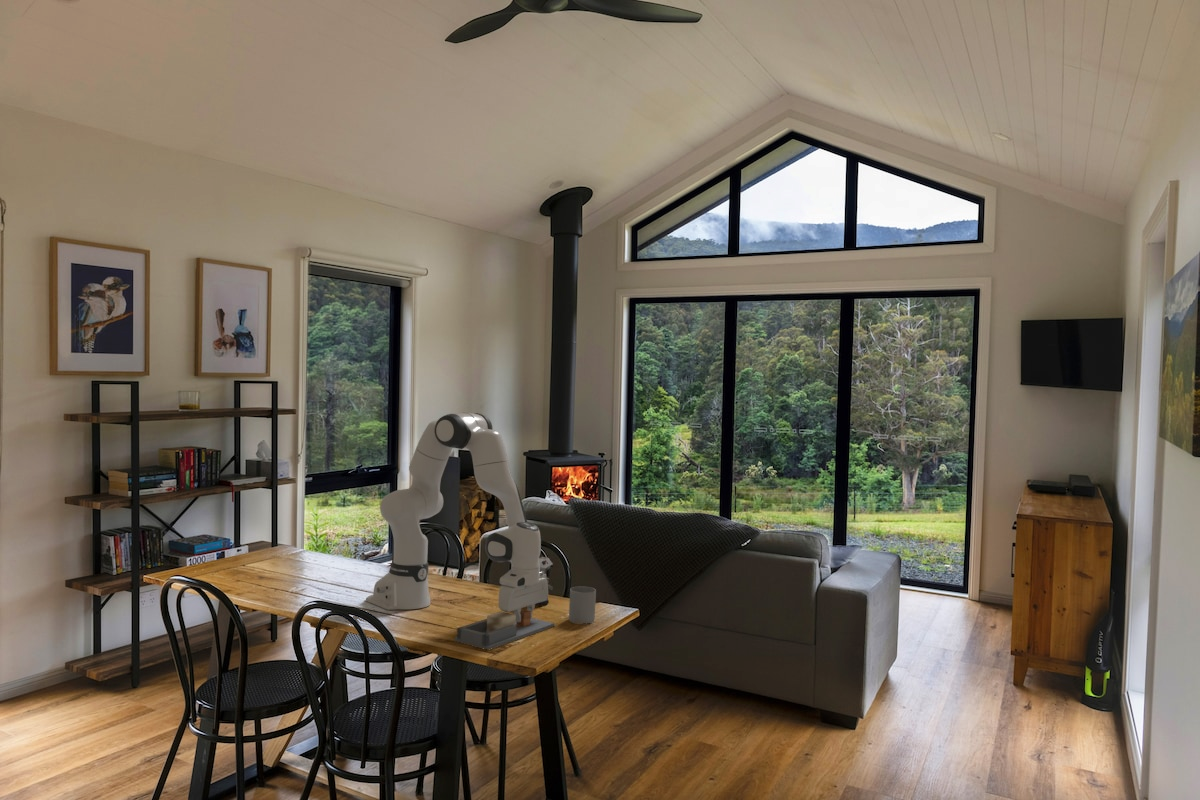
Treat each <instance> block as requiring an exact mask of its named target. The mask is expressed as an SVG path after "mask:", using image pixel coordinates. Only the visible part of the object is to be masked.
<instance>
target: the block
mask: <svg viewBox="0 0 1200 800" xmlns="http://www.w3.org/2000/svg"><path fill="white" fill-rule="evenodd" d="M520 614H521V616H523V621H522V622H517V624H515V620H516V615H514V613H513V614H512V613H510V612H505V611H501V610H500V611H498V612H495V613H490V614H488V615H486V619H487V632H488V633H489V632H492V631H494V630H497V629H500V628H503V627H506V626H509V625H512V624H513V625H517V627H519V626H527V625H529V624H530V616H531V611H527V609H521V611H520Z"/></svg>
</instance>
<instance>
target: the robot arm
mask: <svg viewBox="0 0 1200 800" xmlns="http://www.w3.org/2000/svg"><path fill="white" fill-rule="evenodd" d="M415 447H416V448H415V450H414V453H413V456H412V459H411V461H410V463H409V466H408V470H409V474H411V476H412V479H411V485H410V486H409V488H404V489H398V490H394V491H392V492H389V493H388V494H386V495H385V496H384V497H382V499H381V501H380V504H379V505H380V506H379V510H380V514H381V517H382V519H384V521H386V522H387V523H388V524H389V527H390V529H391V532H392V536H393V561H392V562H389V563H387V568H388V567H389V570H388V573H386V574H385V575H383V576H382V577H381V578H380V579H378V580H377V581H376V582H375V584H374V587H373V593H372V594H370V595H368V596H366V597H365V602H368V603H370V604H373V605H375V606H378V607H380V608H382V609H385V610H388V611H391V610H393V611H394V610H415V609H416V610H417V609H423V608H426V607H429V606H430V605H431V604H432V603H431V595H430V593H429V592H430V590H429V589H430V588H429V577H428V573H429V562H428V551H429V550H428V548H429V546H428V545H429V540H428V537H427V536H426V535H425V534H423V532H422V529H421V526H420V525H421V524H420V521H421V520H426V519H430V518H432V517H433V516H435V515H437V514H439V513H440V512H441V511H442V509H443V507H444V496H443V494H442V493H441V480H442V477H443V474H444V471H445V468H446V466H447V464H448V460H449V458H450V455H451V452H452V450H453V449H459V450H463V449H464V448H465V449H467V450H468V451H469V452H470V455H471V459H472V465H473V474H474V477H475V480H476V484H477V485H478V487H479V488H480V489H481V490H482V491H484V492H487V493H488V494H490V495H493V496H495V497H497V498H498V499H499V500H500V503H502V506H503V509H504V512H505V513H504V514H505V517H506V521H507V526H508V527H507V528H505V529H502V530H498V531H495V532H492V533H490V534H489V535H488V536H487V538H486V539H485V544H484V550H485V553H486V555H487V558H488V559H490V560H491V561H492V562H496V563H504V562H509V563H510V564H511V566H510V567H511V569H509V570H508V571H507V572H506V573H505V574H503V575H502V576H501V577H500V578H499V584H500V585H501V586H500V588H499V591H498V608H499V610H500V611H501V612H505V613H510V612H513V615H516V620H515V621H516V622H522V621H523V616H521V614H520V611H521V610H522V608H526V607H527V609H526V610H527V611H531V616H530V619H531V618H533V612H534V610H535V608H536V607H535V606H536V604H538V603H539V602H542V601H546V600H547V598H548V599H549V589H548V582H547V579H546V578H547V573H544V572H543V571H541V572H540V563H539V557H540V556H541V547H542V545H541V544H542V539H541V538H542V537H541V531H540V529H539V527H538V526H537V525H536V524H534V523H531V522H528V520H527V516H526V513H525V509H524V505H523V501H522V497H521V493H520V491H519V487H518V484H517V483H516V482H515V480H514V479H513V476H512V474H511V469H510V465H509V460H508V454H507V450H506V447H505V443H504V439H503V437H502V435H501V433H500V432H498V430H494V429H493V424H492V421H491V420H490V419H489V417H487V416H486V415H483V414H482V413H478V412H477V413H476V412H475V413H473V412H461V413H460V412H459V413H448V414H445V415H443V416H441V417H439V419H437V420H433V421H431V422H429V423H428V425H427V426H426V427H425V429H424V431H423V432H422V434H421V436H420V438H419V441H418V442H417V446H415Z"/></svg>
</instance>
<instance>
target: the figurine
mask: <svg viewBox="0 0 1200 800" xmlns="http://www.w3.org/2000/svg"><path fill="white" fill-rule="evenodd" d="M539 563H540V572H541V571H543V572H544V573H545V574H547V573H546V571H548V570H549V569H551V568H554V566H553V565H554V563H553V562H552V561H551V560H550V558H549V557H548V556H547V557H546V556H541V557H540V556H539ZM546 579H547V582H548V590H550V591H553V589H554V588H553V587H554V586H553V583H552V584H550V578H549V577H546ZM549 602H550V601H549V597H548V598H547V600H546V601H542V602H539V603H537V605H538V606H539V607H543V606H542V605H544V606H546V605H548V604H550V603H549Z"/></svg>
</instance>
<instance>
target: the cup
mask: <svg viewBox="0 0 1200 800" xmlns="http://www.w3.org/2000/svg"><path fill="white" fill-rule="evenodd" d="M596 597H597V589H595V588H594V587H591V586H584V585H583V586H579V585H578V586H573V587H570V588H569V603H568V605H569V607H568V608H569V609H568V621H569V622H570V621H571V622H570V623H572V622H573V624H576V623H581V624H580V625H584V624H583V623H586V624H585V625H588V624H587V623H590V624H593V623H594V622H595V621H594V620H595V619H596V602H597V601H596ZM592 622H593V623H592Z"/></svg>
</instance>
